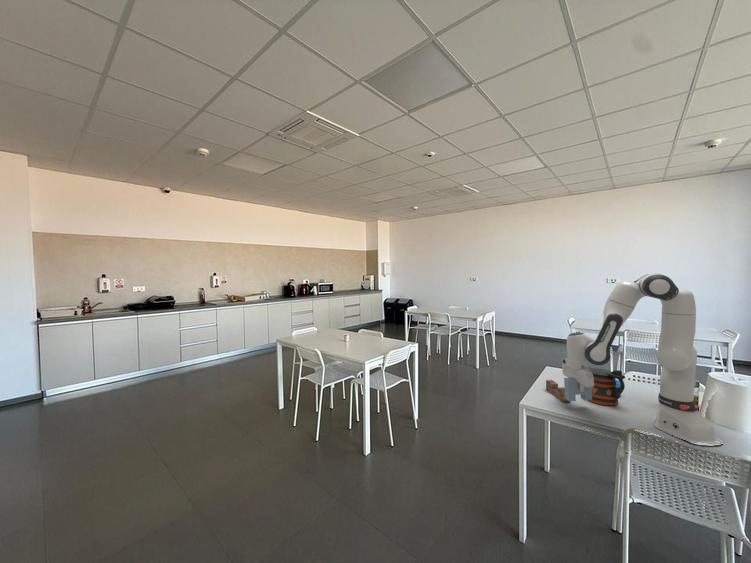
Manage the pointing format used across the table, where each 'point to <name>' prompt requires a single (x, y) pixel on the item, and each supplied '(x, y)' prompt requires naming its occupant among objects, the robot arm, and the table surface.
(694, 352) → the robot arm
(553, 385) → the walnut rail
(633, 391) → the table surface
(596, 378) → the beer stein
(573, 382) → the light blue block
